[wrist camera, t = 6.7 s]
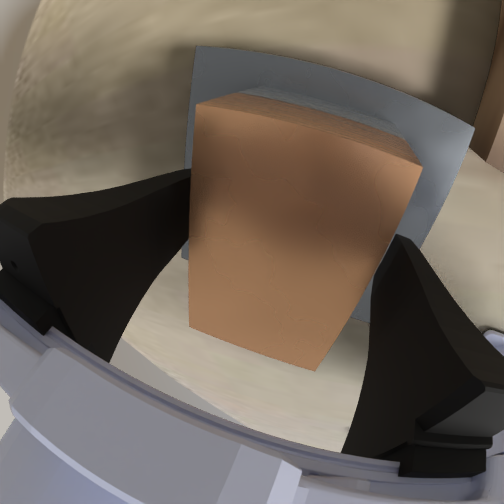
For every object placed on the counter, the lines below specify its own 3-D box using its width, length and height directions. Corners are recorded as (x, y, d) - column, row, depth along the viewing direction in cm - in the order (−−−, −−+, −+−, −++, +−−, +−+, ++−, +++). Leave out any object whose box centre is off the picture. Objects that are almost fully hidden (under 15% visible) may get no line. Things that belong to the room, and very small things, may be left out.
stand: (372, 292, 16) (371, 323, 15) (201, 233, 18) (181, 257, 16) (455, 116, 10) (475, 128, 8) (222, 47, 11) (196, 45, 9)
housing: (332, 284, 14) (314, 371, 10) (235, 252, 15) (189, 326, 11) (393, 123, 9) (422, 167, 5) (261, 86, 10) (196, 104, 6)
